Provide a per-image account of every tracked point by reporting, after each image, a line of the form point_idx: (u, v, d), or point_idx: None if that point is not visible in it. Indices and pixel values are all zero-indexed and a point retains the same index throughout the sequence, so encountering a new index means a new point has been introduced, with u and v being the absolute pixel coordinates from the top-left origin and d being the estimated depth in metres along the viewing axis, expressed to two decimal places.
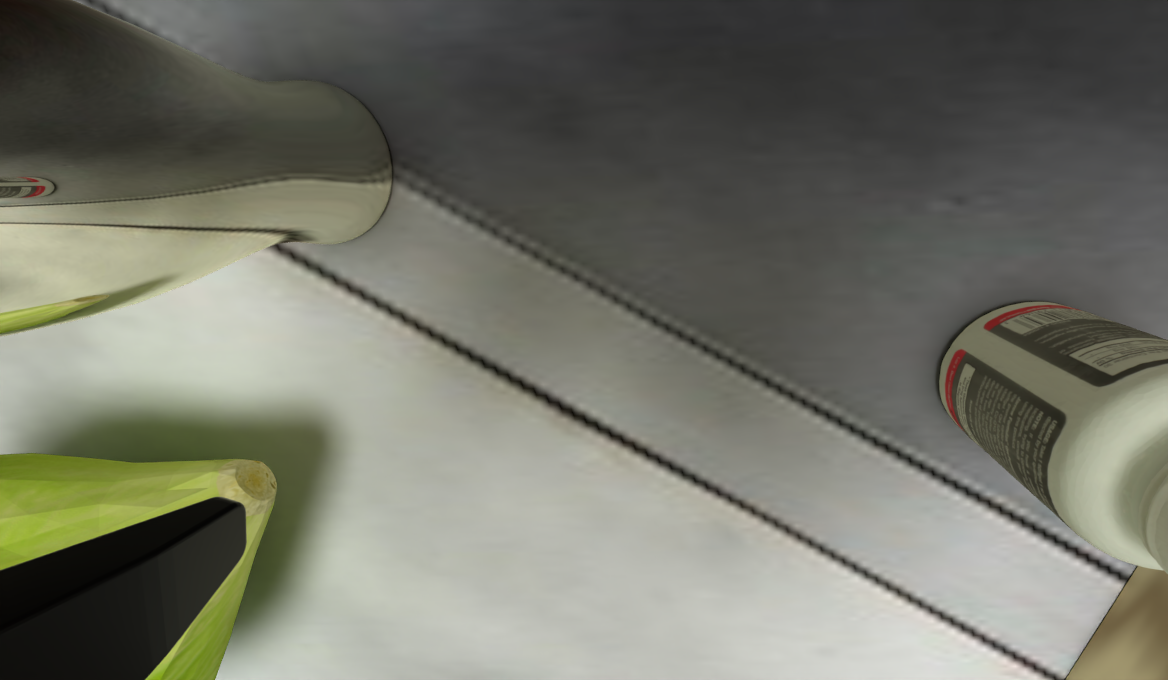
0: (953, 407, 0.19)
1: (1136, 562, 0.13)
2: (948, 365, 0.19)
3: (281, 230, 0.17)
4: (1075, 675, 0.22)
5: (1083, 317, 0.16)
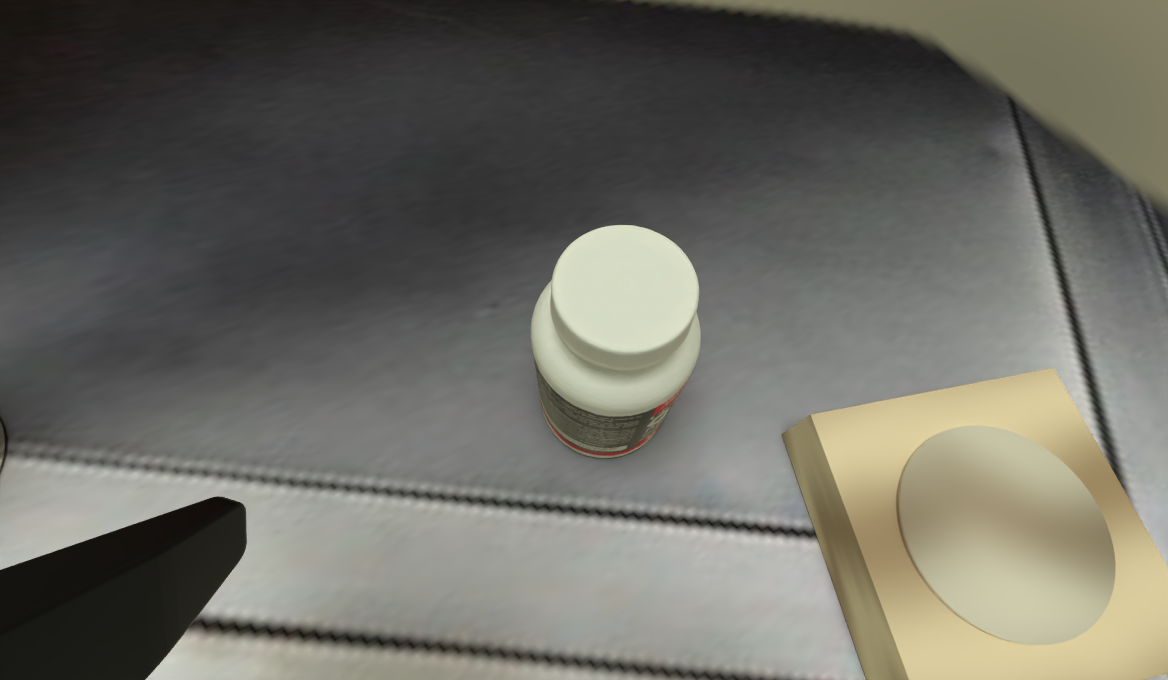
0: (556, 431, 0.21)
1: (623, 398, 0.16)
2: (542, 406, 0.22)
3: None
4: (866, 670, 0.19)
5: None
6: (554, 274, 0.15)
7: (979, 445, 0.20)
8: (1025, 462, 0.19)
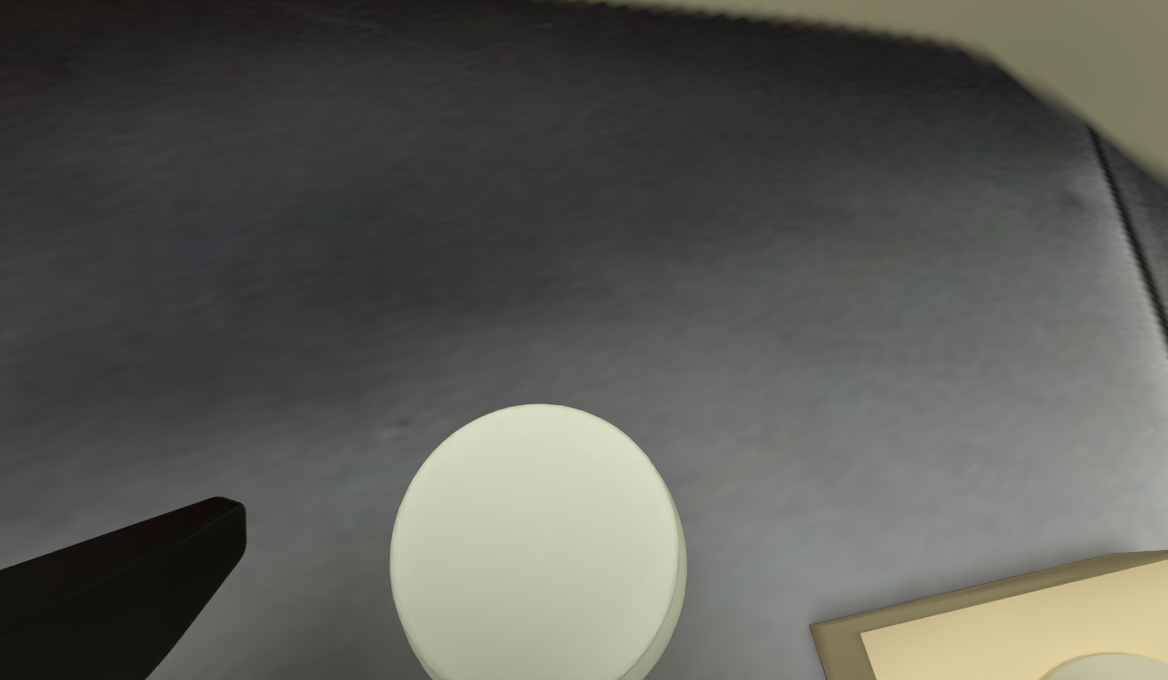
0: None
1: None
2: None
3: None
4: None
5: None
6: (398, 517, 0.07)
7: None
8: None
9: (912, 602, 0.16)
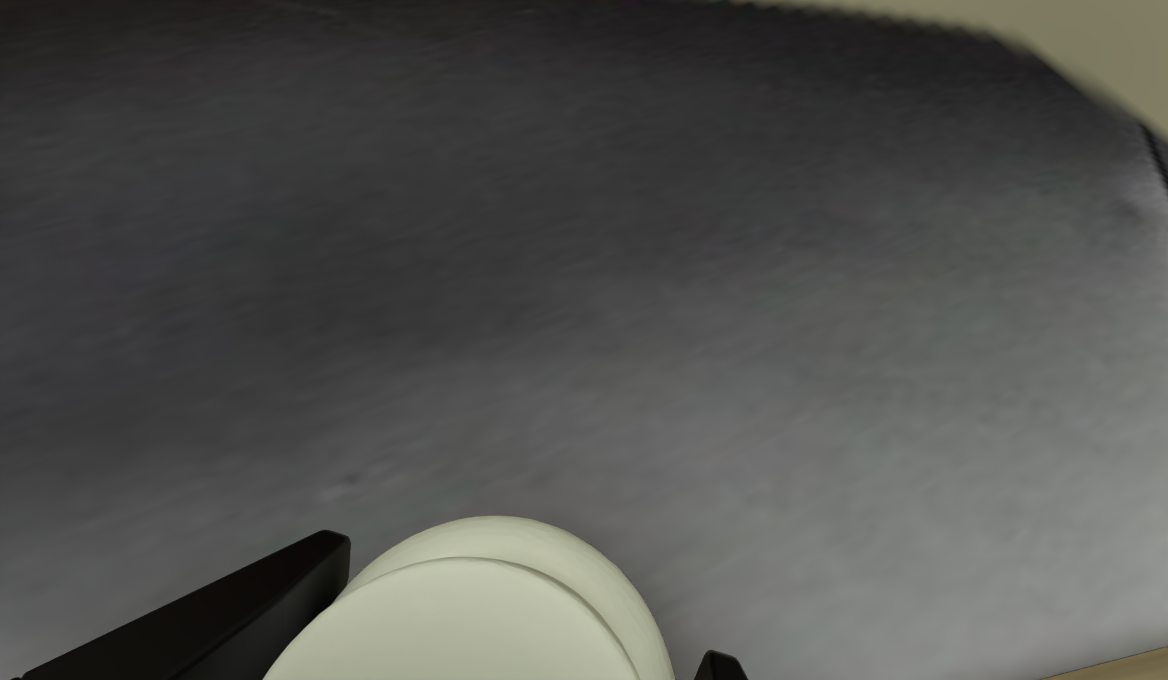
0: None
1: None
2: None
3: None
4: None
5: None
6: None
7: None
8: None
9: None
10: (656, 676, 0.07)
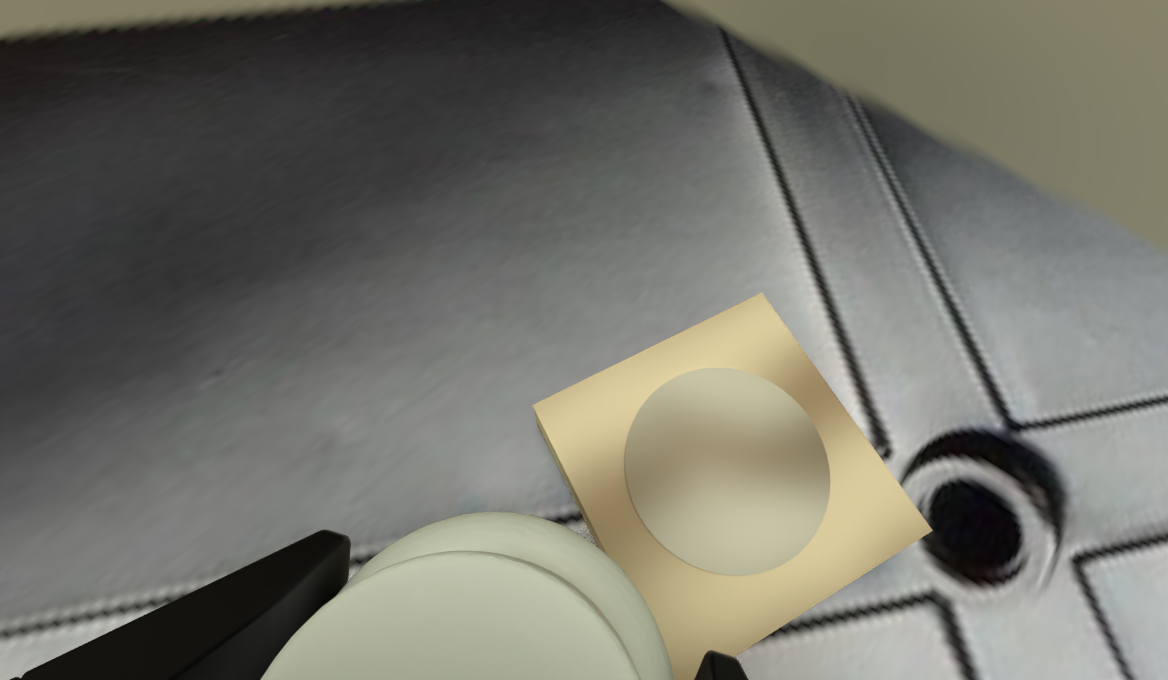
0: None
1: None
2: None
3: None
4: None
5: None
6: None
7: (695, 390, 0.20)
8: (739, 394, 0.20)
9: None
10: (654, 668, 0.07)
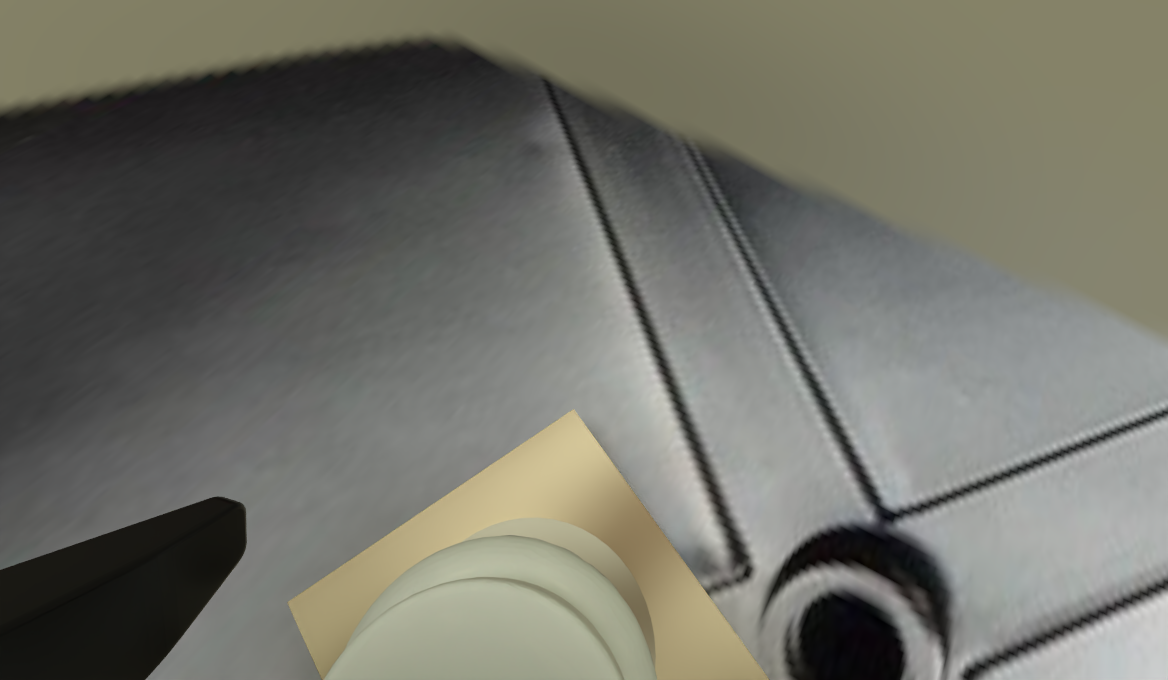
0: None
1: None
2: None
3: None
4: None
5: None
6: None
7: None
8: None
9: None
10: (639, 675, 0.08)
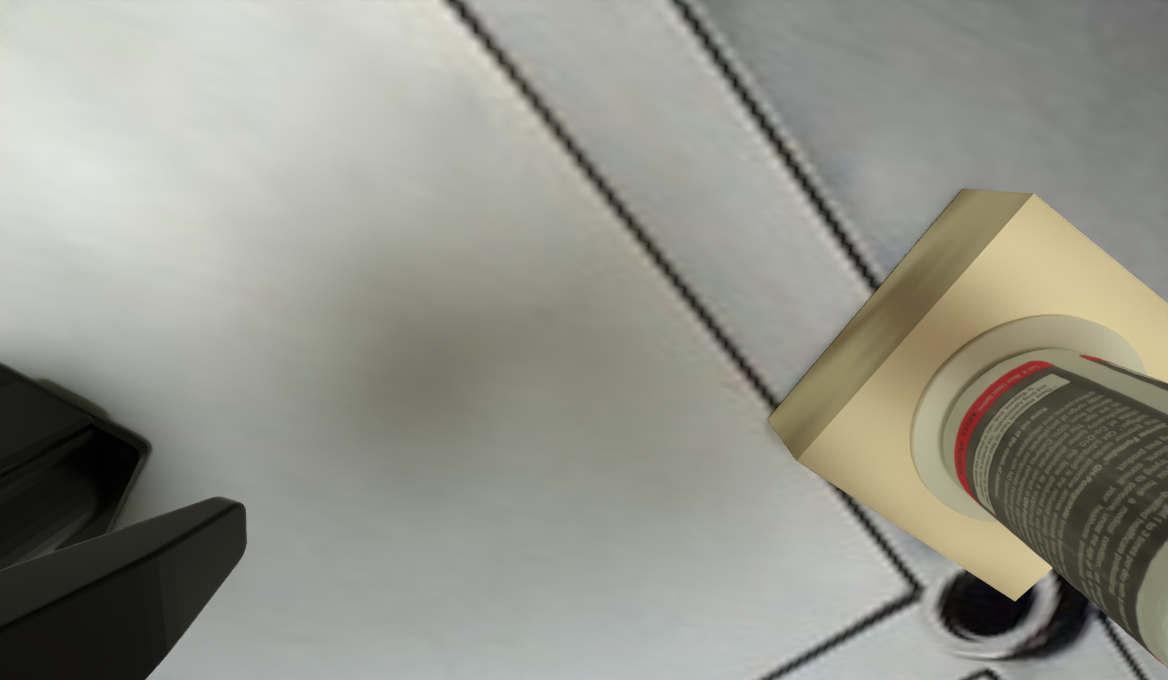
0: (986, 410, 0.15)
1: None
2: (1011, 369, 0.15)
3: None
4: (792, 395, 0.20)
5: None
6: None
7: None
8: None
9: None
10: None
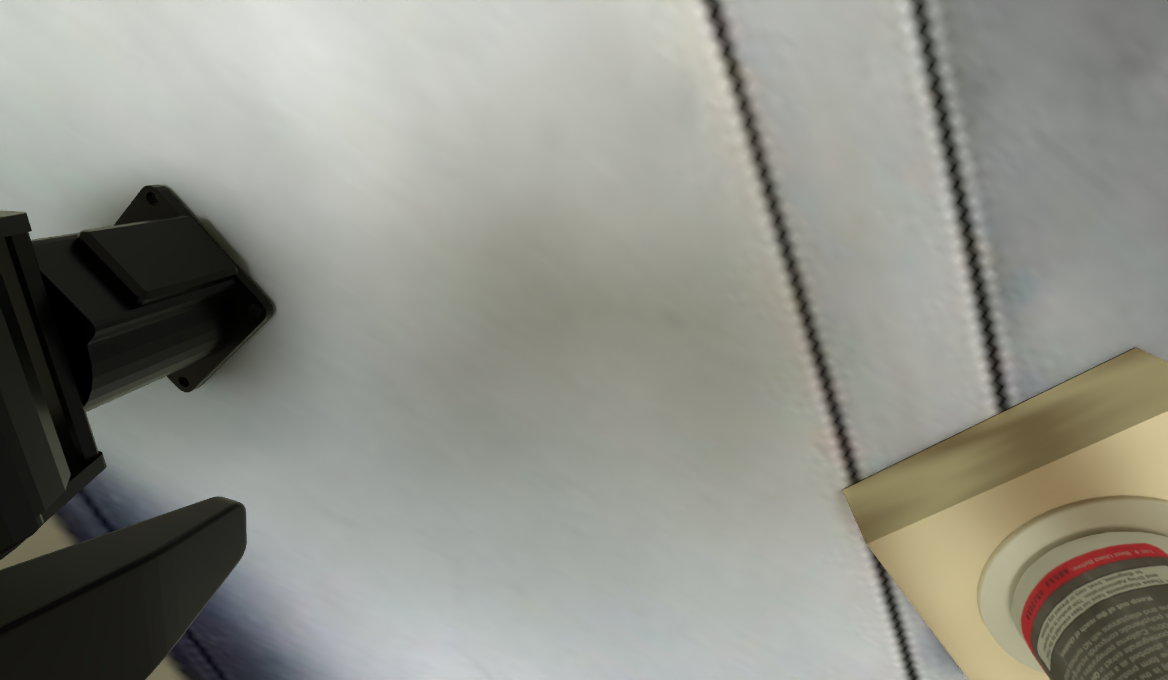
0: (1082, 573, 0.15)
1: None
2: (1122, 543, 0.15)
3: None
4: (878, 477, 0.20)
5: None
6: None
7: None
8: None
9: None
10: None
